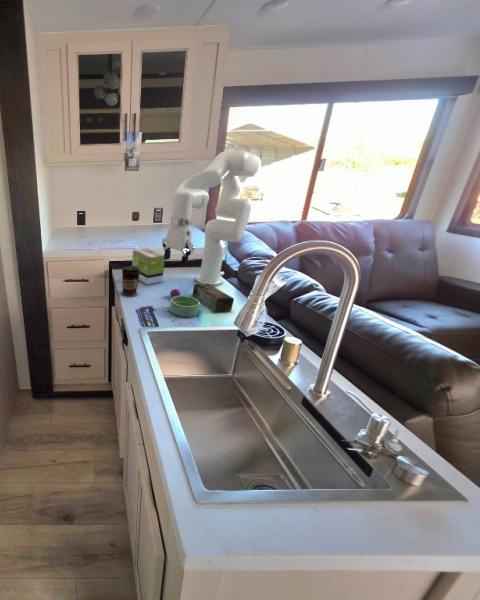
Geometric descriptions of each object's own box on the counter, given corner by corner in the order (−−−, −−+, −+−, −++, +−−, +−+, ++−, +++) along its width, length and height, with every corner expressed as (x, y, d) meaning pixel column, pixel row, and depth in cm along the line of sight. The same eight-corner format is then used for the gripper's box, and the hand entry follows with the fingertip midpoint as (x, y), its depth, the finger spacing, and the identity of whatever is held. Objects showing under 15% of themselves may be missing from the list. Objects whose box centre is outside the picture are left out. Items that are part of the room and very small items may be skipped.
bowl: (182, 304, 138) (183, 293, 135) (203, 313, 129) (205, 302, 127) (163, 310, 132) (165, 299, 130) (185, 320, 123) (186, 309, 121)
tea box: (130, 276, 171) (132, 249, 165) (145, 273, 175) (148, 247, 169) (147, 285, 159) (149, 256, 153) (163, 282, 163) (166, 254, 157)
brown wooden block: (207, 294, 147) (209, 281, 145) (232, 312, 130) (235, 297, 128) (191, 295, 146) (193, 282, 143) (215, 313, 129) (217, 299, 126)
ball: (174, 295, 146) (175, 286, 145) (181, 298, 143) (183, 289, 141) (167, 297, 144) (168, 288, 142) (175, 300, 141) (176, 291, 139)
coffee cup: (138, 298, 144) (140, 271, 138) (120, 296, 145) (121, 270, 140) (138, 291, 152) (141, 265, 146) (121, 289, 153) (123, 264, 148)
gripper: (203, 224, 125) (197, 265, 131) (170, 218, 138) (166, 256, 145) (191, 226, 121) (185, 268, 128) (158, 219, 134) (154, 258, 141)
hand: (175, 262), depth 136 cm, fingers open, 9 cm apart
